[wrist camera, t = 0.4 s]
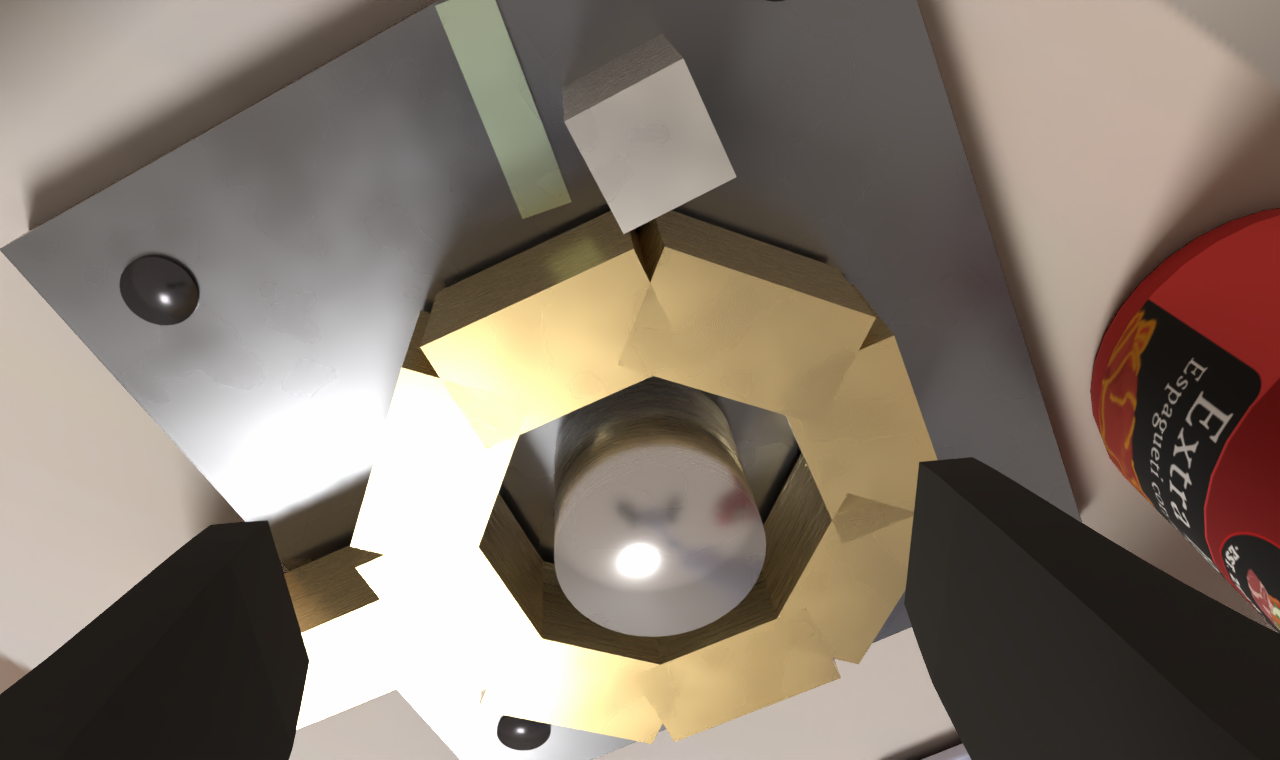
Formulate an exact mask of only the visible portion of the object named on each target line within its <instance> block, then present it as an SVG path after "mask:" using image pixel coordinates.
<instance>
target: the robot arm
mask: <svg viewBox="0 0 1280 760" xmlns="http://www.w3.org/2000/svg"><path fill="white" fill-rule="evenodd" d="M904 605H905V607H906V610H907V613H908V616H909V619H910V622H911V625H912V628H913V631H914V634H915V637H916V639H917V642H918V645H919V648H920V651H921V653H922V656H923V659H924V661H925V664H926V667H927V669H928V672H929V675H930V677H931V680H932V683H933V685H934V687H935V689H936V691H937V693H938V695H939V697H940V699H941V701H942V703H943V705H944V707H945V709H946V711H947V713H948V715H949V717H950V719H951V721H952V723H953V725H954V727H955V729H956V731H957V733H958V735H959V737H960V739H961V741H962V744H960V745H957V746H955V747H952V748H949V749H947V750H944V751H942V752H939V753H937V754H934V755H932V756H929V757H927V758H924V759H922V760H1280V634H1279V633H1277V632H1275V631H1273V630H1271V629H1269V628H1267V627H1265V626H1263V625H1261V624H1259V623H1257V622H1255V621H1253V620H1251V619H1249V618H1247V617H1245V616H1243V615H1242V614H1240V613H1238V612H1236V611H1234V610H1232V609H1231V608H1229V607H1227V606H1225V605H1223V604H1221V603H1219V602H1218V601H1216V600H1214V599H1212V598H1210V597H1208V596H1206V595H1205V594H1203V593H1201V592H1199V591H1197V590H1195V589H1194V588H1192V587H1190V586H1188V585H1186V584H1184V583H1183V582H1181V581H1179V580H1177V579H1176V578H1174V577H1172V576H1170V575H1169V574H1167V573H1165V572H1163V571H1162V570H1160V569H1158V568H1156V567H1155V566H1153V565H1151V564H1149V563H1148V562H1146V561H1144V560H1143V559H1141V558H1139V557H1137V556H1136V555H1134V554H1132V553H1131V552H1129V551H1127V550H1126V549H1124V548H1122V547H1121V546H1119V545H1117V544H1116V543H1114V542H1112V541H1111V540H1109V539H1107V538H1106V537H1104V536H1102V535H1101V534H1099V533H1098V532H1096V531H1094V530H1093V529H1091V528H1089V527H1088V526H1086V525H1085V524H1083V523H1081V522H1080V521H1078V520H1076V519H1075V518H1073V517H1072V516H1070V515H1068V514H1067V513H1065V512H1064V511H1062V510H1060V509H1059V508H1057V507H1056V506H1054V505H1052V504H1051V503H1049V502H1048V501H1046V500H1044V499H1043V498H1041V497H1039V496H1038V495H1036V494H1035V493H1033V492H1031V491H1030V490H1028V489H1027V488H1025V487H1023V486H1022V485H1020V484H1018V483H1017V482H1015V481H1014V480H1012V479H1010V478H1009V477H1007V476H1005V475H1004V474H1002V473H1000V472H999V471H997V470H995V469H993V468H992V467H990V466H988V465H986V464H985V463H983V462H981V461H979V460H977V459H975V458H973V457H968V458H957V459H946V460H935V461H923V462H919V469H918V478H917V487H916V497H915V506H914V516H913V525H912V534H911V544H910V553H909V562H908V572H907V581H906V590H905V600H904ZM309 662H310V660H309V657H308V653H307V650H306V647H305V643H304V640H303V637H302V633H301V630H300V627H299V623H298V620H297V616H296V613H295V610H294V606H293V603H292V600H291V596H290V593H289V590H288V586H287V583H286V580H285V576H284V573H283V570H282V566H281V563H280V559H279V556H278V553H277V549H276V546H275V543H274V539H273V536H272V533H271V529H270V526H269V523H268V520H261V521H250V522H239V523H227V524H216V525H210V526H209V527H207V528H206V529H205V530H203V531H202V532H201V533H199V534H198V535H196V536H195V537H194V538H192V539H191V540H190V541H189V542H187V543H186V544H185V545H184V546H182V547H181V548H180V549H179V550H177V551H176V552H175V553H174V554H172V555H171V556H170V557H169V558H168V559H166V560H165V561H164V562H163V563H161V564H160V565H159V566H158V567H157V568H155V569H154V570H153V571H152V572H151V573H150V574H148V575H147V576H146V577H145V578H144V579H142V580H141V581H140V582H139V583H138V584H136V585H135V586H134V587H133V588H132V589H130V590H129V591H128V592H127V593H126V594H124V595H123V596H122V597H121V598H120V599H119V600H117V601H116V602H115V603H114V604H112V605H111V606H110V607H109V608H108V609H106V610H105V611H104V612H103V613H102V614H100V615H99V616H98V617H97V618H96V619H94V620H93V621H92V622H91V623H89V624H88V625H87V626H86V627H85V628H83V629H82V630H81V631H80V632H79V633H77V634H76V635H75V636H74V637H73V638H71V639H70V640H69V641H68V642H67V643H65V644H64V645H63V646H62V647H60V648H59V649H58V650H57V651H56V652H54V653H53V654H52V655H51V656H49V657H48V658H47V659H46V660H44V661H43V662H42V663H41V664H39V665H38V666H37V667H35V668H34V669H33V670H31V671H30V672H29V673H28V674H26V675H25V676H24V677H22V678H21V679H20V680H18V681H17V682H16V683H15V684H13V685H12V686H11V687H9V688H8V689H7V690H5V691H4V692H3V693H2V694H0V760H289V757H290V754H291V751H292V747H293V743H294V738H295V734H296V729H297V724H298V720H299V715H300V710H301V705H302V700H303V694H304V689H305V684H306V678H307V673H308V667H309Z"/></svg>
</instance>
